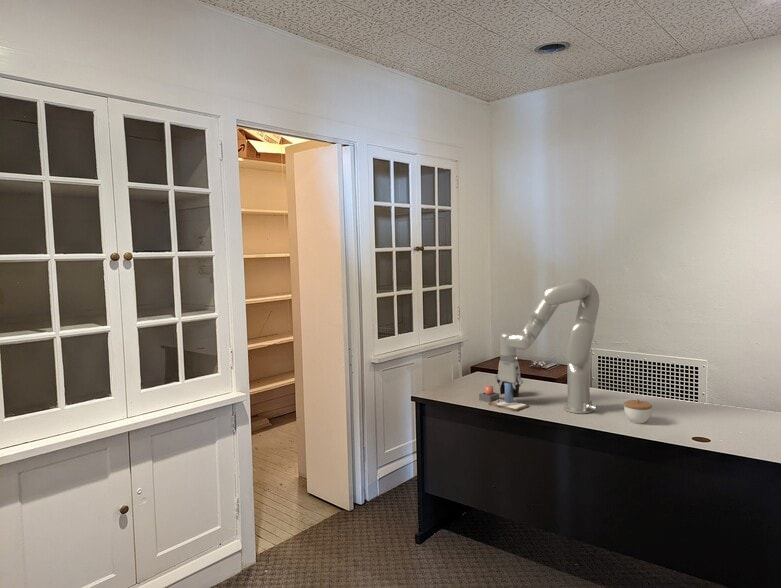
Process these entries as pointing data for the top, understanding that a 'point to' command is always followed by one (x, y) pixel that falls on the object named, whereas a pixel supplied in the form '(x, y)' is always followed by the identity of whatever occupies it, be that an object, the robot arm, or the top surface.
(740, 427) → the top surface
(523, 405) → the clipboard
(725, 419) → the top surface
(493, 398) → the button housing
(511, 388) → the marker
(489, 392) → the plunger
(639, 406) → the lidded jar
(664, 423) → the top surface
